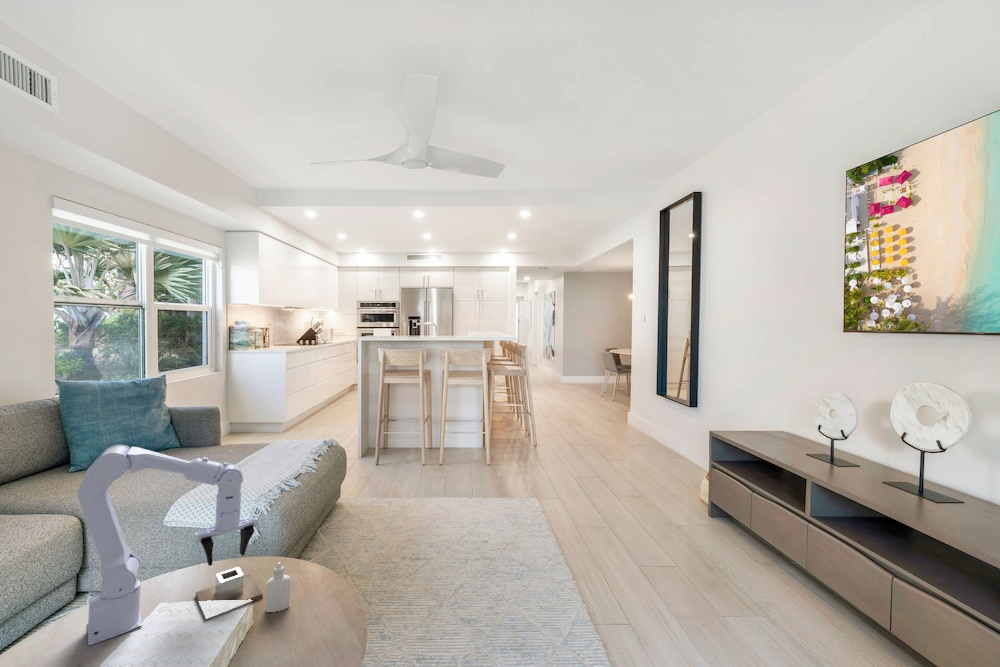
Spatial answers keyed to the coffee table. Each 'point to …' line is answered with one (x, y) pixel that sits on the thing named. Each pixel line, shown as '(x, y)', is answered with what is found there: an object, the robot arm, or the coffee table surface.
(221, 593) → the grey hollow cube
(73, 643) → the coffee table surface
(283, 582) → the eye dropper bottle
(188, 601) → the coffee table surface
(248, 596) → the brown peg base
